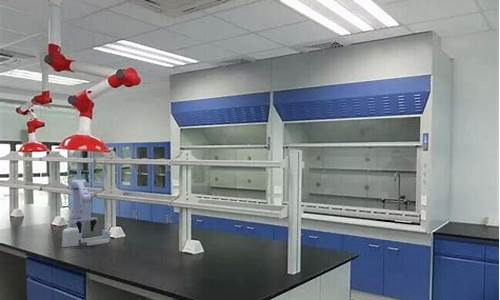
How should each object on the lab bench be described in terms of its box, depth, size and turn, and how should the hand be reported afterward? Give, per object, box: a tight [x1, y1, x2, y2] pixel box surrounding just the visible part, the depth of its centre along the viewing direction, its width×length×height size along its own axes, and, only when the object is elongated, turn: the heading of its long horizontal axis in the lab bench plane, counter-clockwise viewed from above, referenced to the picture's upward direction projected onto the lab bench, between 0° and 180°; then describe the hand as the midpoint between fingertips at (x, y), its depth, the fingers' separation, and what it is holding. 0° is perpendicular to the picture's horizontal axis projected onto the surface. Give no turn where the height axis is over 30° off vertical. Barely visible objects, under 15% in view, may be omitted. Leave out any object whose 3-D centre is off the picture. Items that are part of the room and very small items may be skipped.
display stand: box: [80, 229, 112, 246], centre depth 269 cm, size 12×16×7 cm
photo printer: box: [61, 227, 80, 248], centre depth 258 cm, size 10×4×12 cm, turn 123°
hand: (86, 232), depth 256 cm, fingers open, 7 cm apart
